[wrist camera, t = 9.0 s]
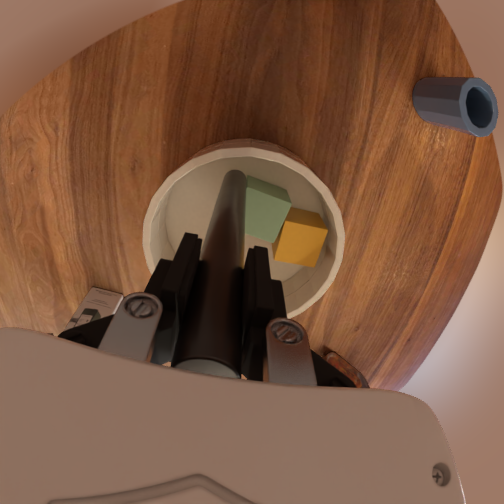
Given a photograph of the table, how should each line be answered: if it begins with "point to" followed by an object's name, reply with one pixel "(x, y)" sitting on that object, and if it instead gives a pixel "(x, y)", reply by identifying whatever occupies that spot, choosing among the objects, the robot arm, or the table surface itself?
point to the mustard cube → (300, 238)
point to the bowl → (198, 218)
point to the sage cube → (265, 209)
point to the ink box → (95, 307)
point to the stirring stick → (217, 290)
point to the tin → (346, 369)
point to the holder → (457, 104)
